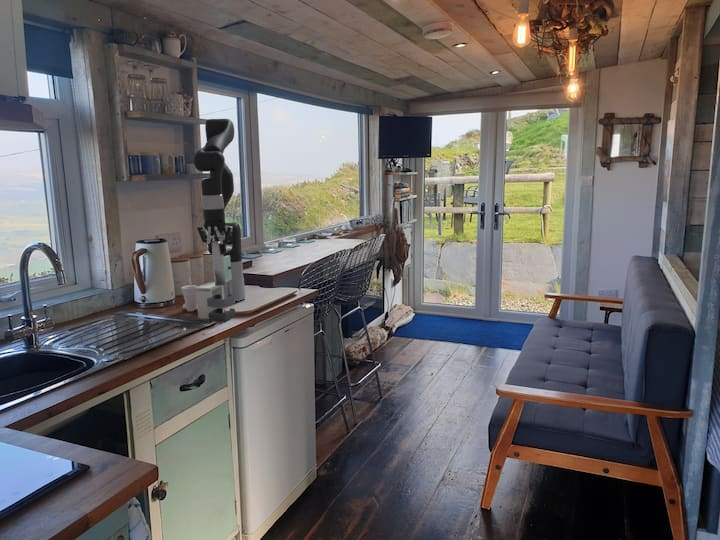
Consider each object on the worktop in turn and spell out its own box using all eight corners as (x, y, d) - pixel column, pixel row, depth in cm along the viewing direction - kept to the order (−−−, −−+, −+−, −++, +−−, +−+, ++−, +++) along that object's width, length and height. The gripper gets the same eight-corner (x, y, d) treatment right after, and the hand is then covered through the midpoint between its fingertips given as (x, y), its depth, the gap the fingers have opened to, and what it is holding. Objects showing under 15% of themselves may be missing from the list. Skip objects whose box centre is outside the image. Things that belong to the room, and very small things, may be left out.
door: (212, 285, 201) (208, 243, 198) (225, 279, 211) (222, 238, 207) (222, 285, 200) (218, 243, 197) (235, 279, 210) (231, 238, 206)
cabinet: (211, 310, 216) (209, 281, 213) (241, 312, 213) (239, 282, 210) (194, 320, 204) (191, 289, 201) (226, 321, 201) (223, 290, 198)
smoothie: (197, 312, 215) (193, 277, 212) (181, 312, 215) (177, 278, 212) (202, 307, 221) (198, 274, 218) (186, 308, 221) (183, 274, 218)
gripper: (236, 206, 198) (239, 252, 202) (201, 206, 202) (205, 251, 205) (226, 208, 191) (230, 256, 195) (190, 208, 194) (195, 255, 198)
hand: (217, 253), depth 200 cm, fingers closed on door, 4 cm apart
